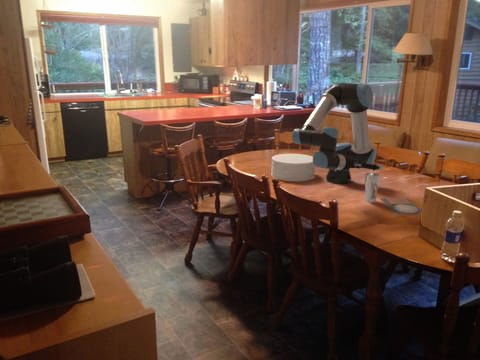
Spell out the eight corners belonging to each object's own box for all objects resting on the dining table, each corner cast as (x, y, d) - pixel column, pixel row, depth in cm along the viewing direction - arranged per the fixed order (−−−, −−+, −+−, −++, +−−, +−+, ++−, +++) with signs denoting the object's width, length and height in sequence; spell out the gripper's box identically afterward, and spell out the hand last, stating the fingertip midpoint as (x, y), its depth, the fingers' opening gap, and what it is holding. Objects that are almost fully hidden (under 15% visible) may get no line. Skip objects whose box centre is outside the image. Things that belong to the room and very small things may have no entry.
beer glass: (374, 199, 221) (377, 172, 217) (379, 203, 215) (382, 175, 211) (361, 199, 221) (364, 172, 217) (365, 204, 214) (368, 176, 210)
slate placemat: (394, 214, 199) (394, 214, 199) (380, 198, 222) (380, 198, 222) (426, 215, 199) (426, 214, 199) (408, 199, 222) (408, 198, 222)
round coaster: (398, 213, 200) (398, 211, 200) (390, 205, 211) (391, 204, 211) (421, 213, 200) (421, 212, 200) (412, 206, 210) (413, 204, 210)
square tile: (391, 205, 212) (391, 203, 212) (385, 198, 221) (385, 197, 221) (411, 205, 211) (411, 203, 211) (404, 199, 221) (404, 197, 221)
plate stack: (314, 182, 252) (315, 164, 249) (268, 180, 258) (268, 162, 254) (315, 171, 279) (316, 154, 275) (274, 169, 284) (274, 152, 281)
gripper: (322, 167, 213) (352, 171, 224) (358, 173, 191) (390, 177, 202) (325, 153, 212) (355, 157, 223) (361, 157, 191) (392, 161, 201)
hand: (371, 166), depth 213 cm, fingers open, 13 cm apart
